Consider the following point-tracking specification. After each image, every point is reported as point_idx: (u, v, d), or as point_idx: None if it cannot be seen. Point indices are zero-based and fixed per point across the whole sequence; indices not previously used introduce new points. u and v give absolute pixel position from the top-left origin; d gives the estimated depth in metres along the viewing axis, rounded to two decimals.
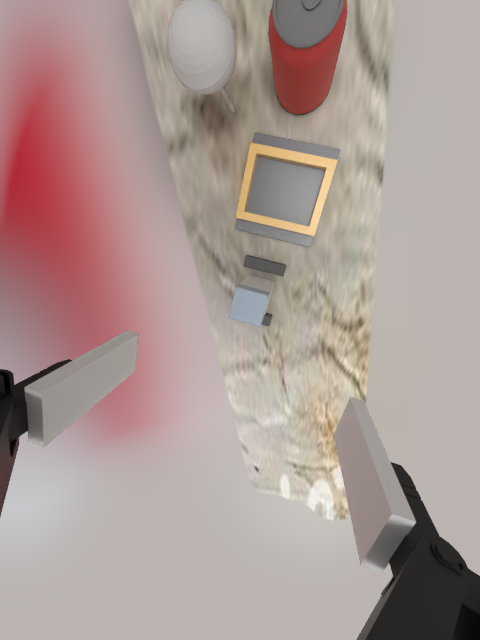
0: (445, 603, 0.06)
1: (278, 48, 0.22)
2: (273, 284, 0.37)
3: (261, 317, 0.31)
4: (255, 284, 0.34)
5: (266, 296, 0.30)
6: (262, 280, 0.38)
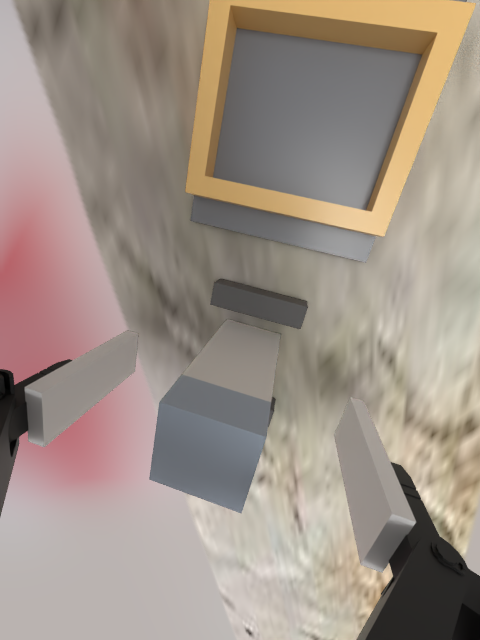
0: (445, 603, 0.06)
1: None
2: (278, 349, 0.16)
3: (244, 491, 0.10)
4: (232, 363, 0.13)
5: (258, 438, 0.09)
6: (253, 337, 0.17)
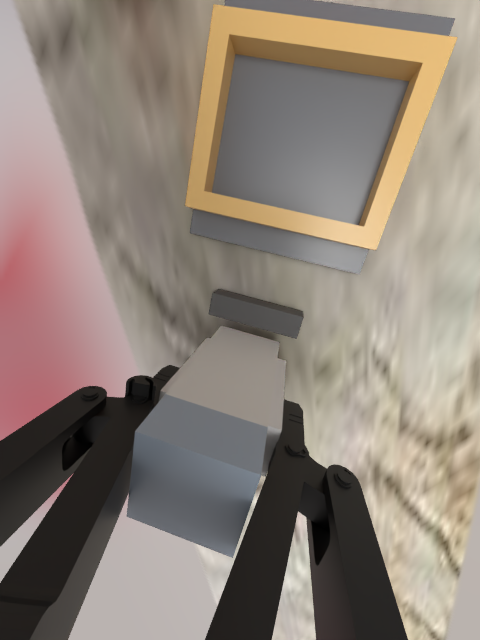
0: (295, 480, 0.09)
1: None
2: (276, 360, 0.14)
3: (235, 534, 0.08)
4: (224, 378, 0.12)
5: (252, 476, 0.08)
6: (249, 346, 0.15)
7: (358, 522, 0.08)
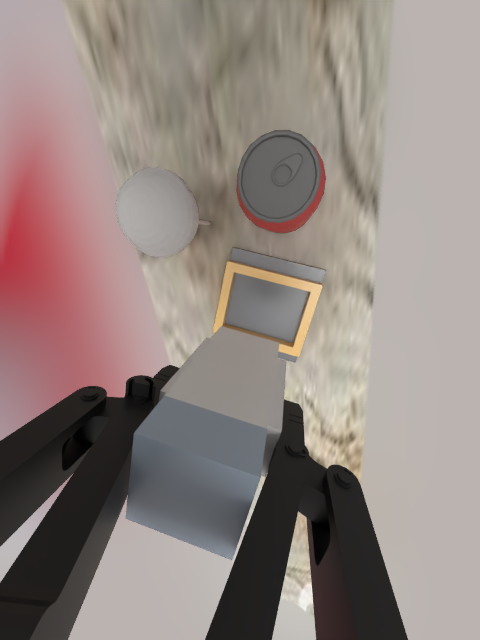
0: (295, 480, 0.09)
1: (247, 213, 0.19)
2: (276, 361, 0.14)
3: (235, 536, 0.08)
4: (224, 379, 0.12)
5: (252, 478, 0.08)
6: (249, 347, 0.15)
7: (358, 522, 0.08)
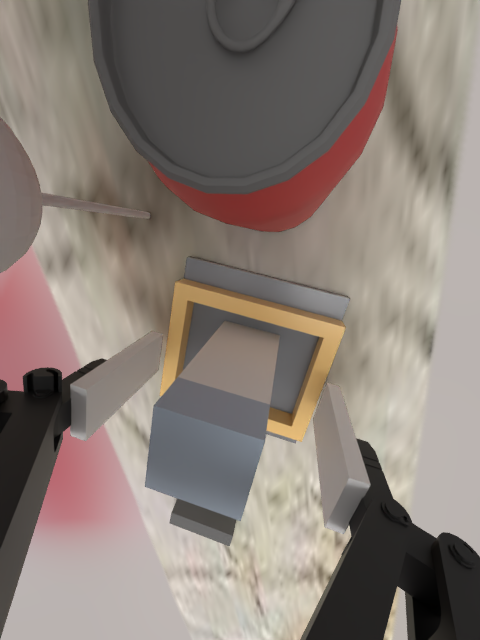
0: (393, 552, 0.07)
1: (155, 171, 0.07)
2: (277, 351, 0.15)
3: (243, 497, 0.10)
4: (230, 365, 0.13)
5: (257, 442, 0.09)
6: (251, 338, 0.16)
7: None
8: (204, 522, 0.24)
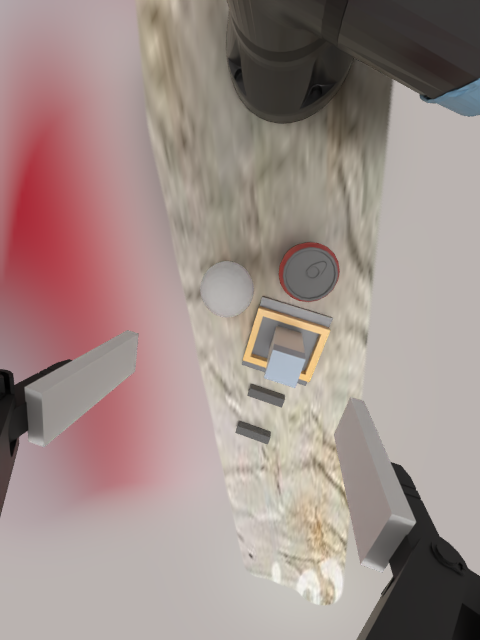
0: (445, 603, 0.06)
1: (286, 290, 0.29)
2: (302, 339, 0.38)
3: (297, 379, 0.32)
4: (287, 342, 0.35)
5: (303, 360, 0.31)
6: (290, 333, 0.39)
7: None
8: (254, 431, 0.46)
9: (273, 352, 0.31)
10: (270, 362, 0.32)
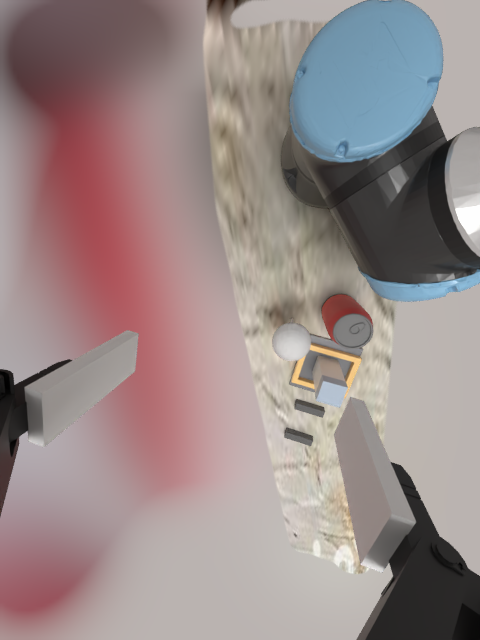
0: (445, 603, 0.06)
1: (333, 340, 0.40)
2: None
3: (341, 401, 0.43)
4: (330, 371, 0.46)
5: (346, 388, 0.42)
6: (330, 362, 0.50)
7: None
8: (300, 436, 0.58)
9: (323, 382, 0.43)
10: (321, 389, 0.43)
